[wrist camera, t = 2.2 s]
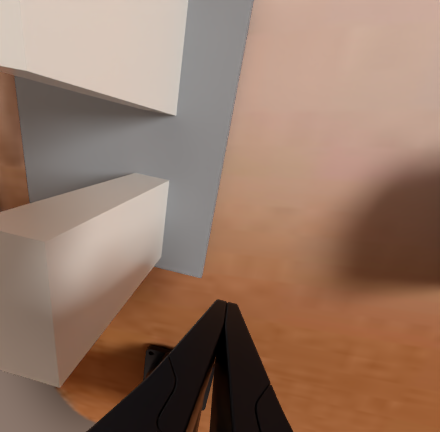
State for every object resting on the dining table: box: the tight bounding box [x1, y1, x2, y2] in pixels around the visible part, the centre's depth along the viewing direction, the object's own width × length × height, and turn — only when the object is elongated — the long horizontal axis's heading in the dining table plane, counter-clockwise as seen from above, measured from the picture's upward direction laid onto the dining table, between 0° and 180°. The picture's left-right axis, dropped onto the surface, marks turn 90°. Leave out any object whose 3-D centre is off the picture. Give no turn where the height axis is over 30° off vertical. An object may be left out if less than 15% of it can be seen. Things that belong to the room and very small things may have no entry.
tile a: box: [0, 173, 169, 388], centre depth 12 cm, size 6×2×10 cm, turn 169°
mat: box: [14, 0, 254, 278], centre depth 15 cm, size 18×14×1 cm
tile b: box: [0, 0, 188, 116], centre depth 8 cm, size 6×2×10 cm, turn 169°
